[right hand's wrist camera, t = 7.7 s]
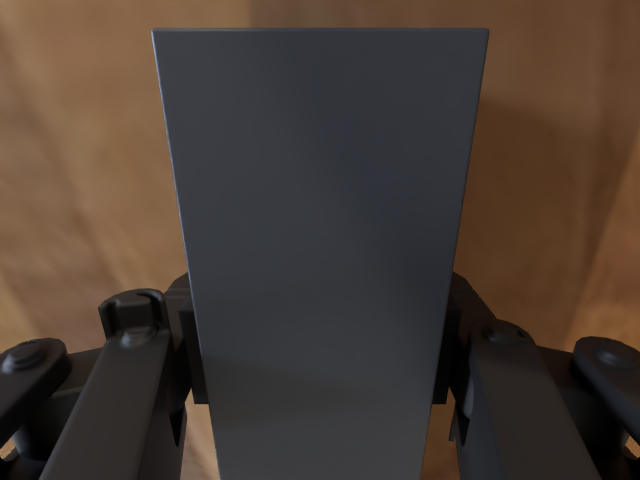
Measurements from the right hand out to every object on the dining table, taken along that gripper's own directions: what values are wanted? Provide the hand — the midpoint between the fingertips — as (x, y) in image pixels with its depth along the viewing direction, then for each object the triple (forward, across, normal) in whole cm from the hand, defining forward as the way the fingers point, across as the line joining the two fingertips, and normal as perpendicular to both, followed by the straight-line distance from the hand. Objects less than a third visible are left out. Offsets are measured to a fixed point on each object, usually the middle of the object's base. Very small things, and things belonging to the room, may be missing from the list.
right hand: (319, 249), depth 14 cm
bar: (+1, 0, -28) cm, 28 cm away
